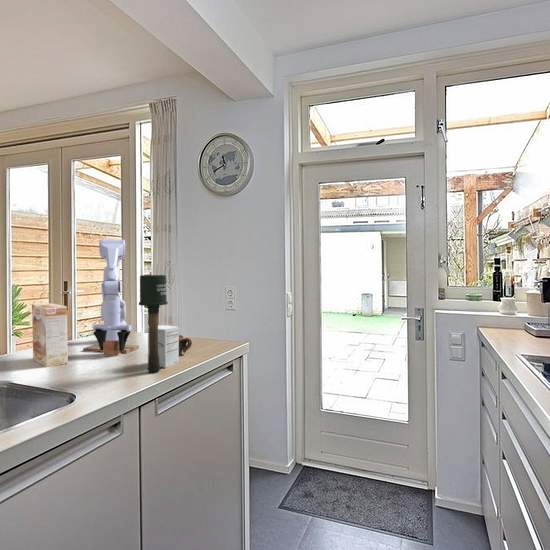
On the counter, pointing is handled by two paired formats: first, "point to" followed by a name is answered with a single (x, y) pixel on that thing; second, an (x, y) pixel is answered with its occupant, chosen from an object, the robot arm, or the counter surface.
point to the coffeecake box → (49, 334)
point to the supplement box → (167, 345)
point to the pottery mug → (184, 344)
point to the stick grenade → (153, 312)
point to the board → (97, 348)
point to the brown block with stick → (111, 347)
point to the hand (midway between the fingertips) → (112, 350)
